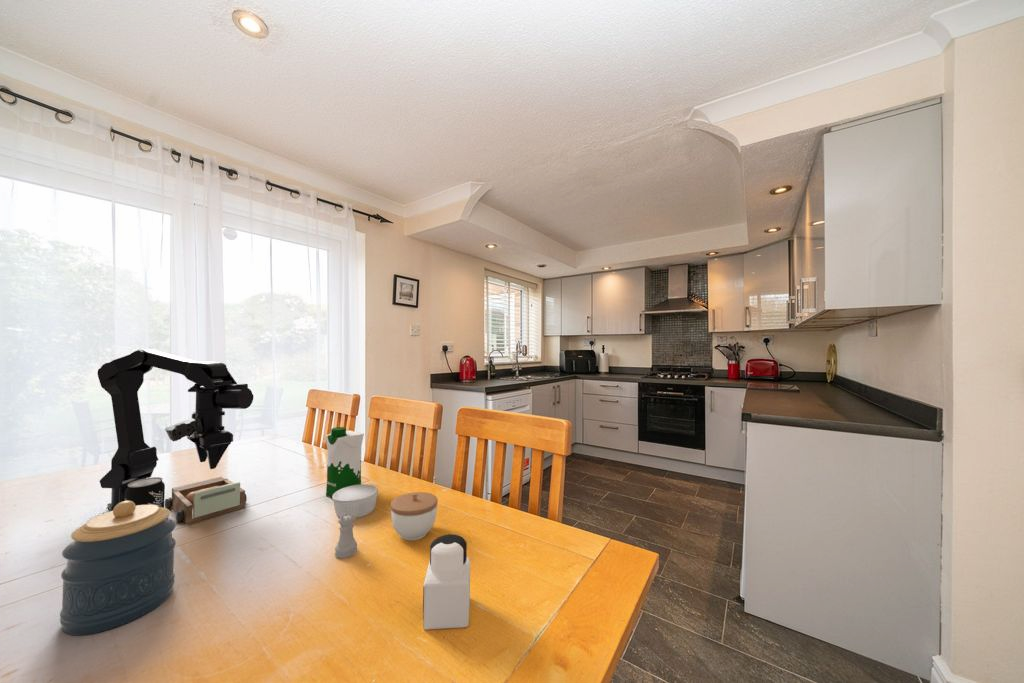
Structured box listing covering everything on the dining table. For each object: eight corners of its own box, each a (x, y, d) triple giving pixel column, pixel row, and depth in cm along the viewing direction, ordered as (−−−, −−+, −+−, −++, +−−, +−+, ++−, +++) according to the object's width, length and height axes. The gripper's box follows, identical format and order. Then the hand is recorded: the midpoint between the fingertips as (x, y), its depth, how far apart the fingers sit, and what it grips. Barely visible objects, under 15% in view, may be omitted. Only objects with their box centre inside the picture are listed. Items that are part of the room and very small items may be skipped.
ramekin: (322, 516, 93) (322, 496, 93) (355, 499, 103) (356, 481, 104) (354, 524, 89) (355, 503, 89) (386, 506, 99) (386, 487, 99)
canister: (67, 652, 51) (71, 528, 52) (52, 615, 58) (56, 506, 58) (185, 598, 62) (188, 496, 63) (161, 573, 69) (163, 481, 70)
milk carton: (321, 496, 106) (322, 428, 106) (349, 486, 113) (350, 422, 114) (338, 503, 101) (339, 432, 101) (366, 492, 108) (367, 426, 109)
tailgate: (193, 516, 89) (193, 492, 90) (238, 503, 97) (238, 481, 97) (194, 518, 89) (195, 493, 89) (240, 505, 96) (240, 482, 96)
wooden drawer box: (163, 506, 98) (164, 489, 98) (227, 490, 109) (227, 475, 109) (180, 526, 87) (181, 507, 87) (249, 505, 99) (249, 489, 99)
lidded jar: (446, 533, 85) (446, 493, 85) (405, 551, 77) (406, 508, 77) (421, 518, 92) (421, 481, 93) (381, 534, 85) (382, 494, 85)
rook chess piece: (362, 549, 78) (362, 512, 78) (346, 561, 74) (347, 522, 74) (345, 545, 79) (346, 509, 79) (329, 556, 75) (330, 518, 75)
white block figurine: (429, 599, 63) (430, 530, 63) (469, 596, 63) (470, 528, 64) (422, 630, 56) (423, 553, 56) (468, 628, 56) (469, 551, 57)
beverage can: (137, 541, 80) (139, 488, 80) (115, 538, 81) (117, 485, 82) (171, 527, 87) (172, 477, 87) (150, 524, 88) (151, 475, 88)
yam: (184, 504, 97) (184, 492, 97) (220, 494, 104) (220, 483, 104) (187, 507, 95) (187, 495, 95) (224, 497, 102) (224, 485, 102)
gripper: (161, 408, 97) (159, 465, 97) (178, 416, 86) (176, 481, 86) (213, 403, 106) (211, 456, 106) (234, 410, 95) (232, 469, 95)
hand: (207, 465), depth 98 cm, fingers open, 9 cm apart
